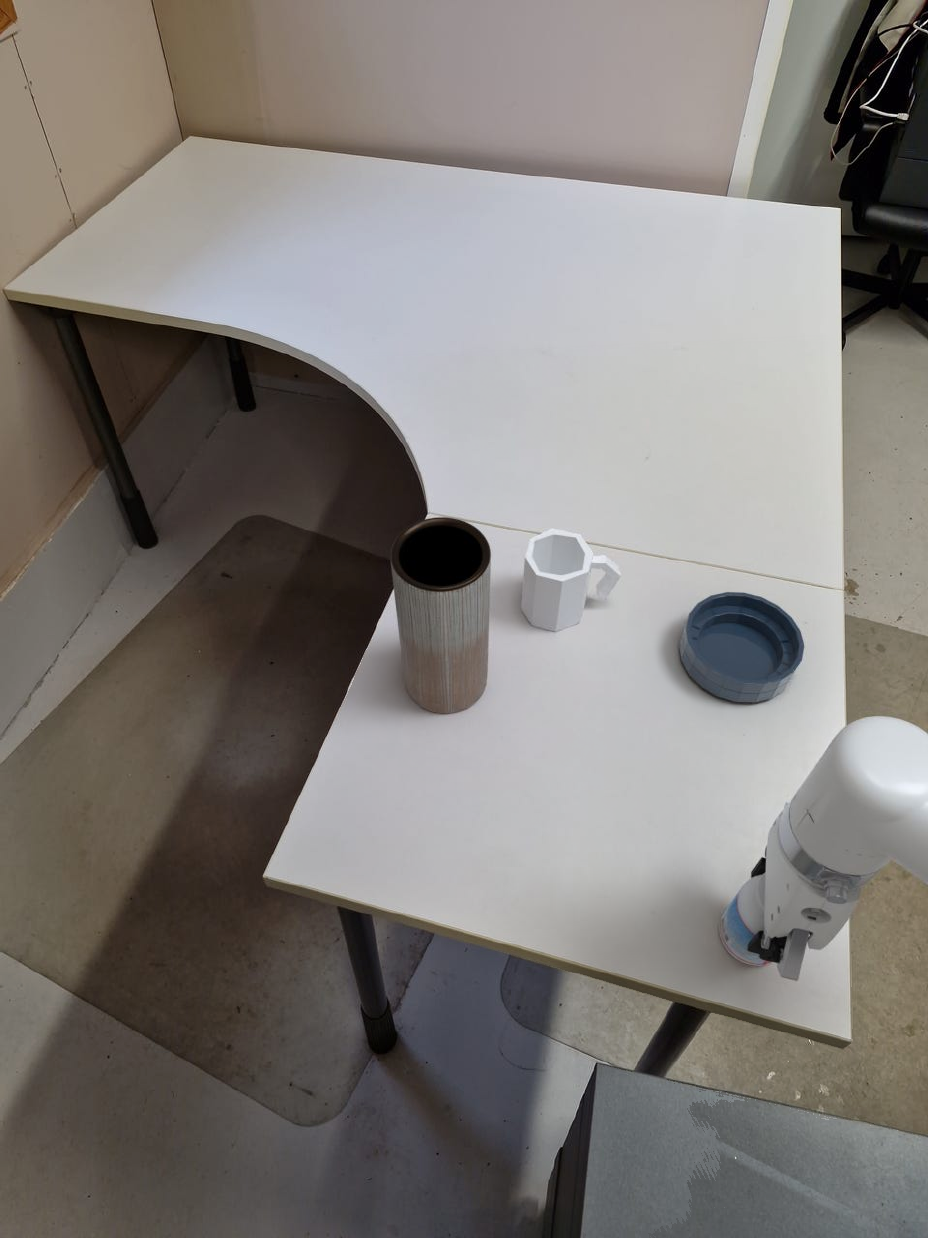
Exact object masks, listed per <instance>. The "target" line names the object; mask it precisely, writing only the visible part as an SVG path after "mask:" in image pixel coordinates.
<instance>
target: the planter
mask: <svg viewBox="0 0 928 1238" xmlns="http://www.w3.org/2000/svg"><path fill="white" fill-rule="evenodd" d="M389 557H390V567H391V578H392V585H393V595H394V602H395V611H396V619H397V620H396V621H397V628H398V638H399V646H400V655H401V663H402V664H401V665H402V673H403V680H404V685H405V689H406V691H407V693H408V695H409V697H410V699H412V701H413V702H414V703H415V704H417V705H418V706H419V707H421V708H423V709H425V710H427V711H428V712H429V711H430V712H432V713H437V714H453V713H458V712H461V711H464V710H466V709H468V708H470V707H472V706H473V705H474V704H476V703H477V702H478V700H479V699H481V697H482V696H483V694H484V692H485V690H486V687H487V683H488V674H489V672H488V670H489V644H490V643H489V641H490V639H489V637H490V610H491V609H490V606H491V605H490V603H491V602H490V601H491V571H492V569H491V568H492V550H491V546H490V543H489V541H488V539H487V538H486V536H485V535H484V533H483V532H482V531H480V530H479V529H478V528H477V527H476V526H474V525H473V524H471V523H469V522H467V521H464V520H462V519H458V518H453V517H447V516H446V517H445V516H443V517H442V516H438V517H430V518H425V519H421V520H418V521H417V522H414V523H412V524H410V525H409V526H407V527H405V528H404V529H403V530H402V531H401V532H400V533H399V534H398V535H397V537H396V538H395V540H394V541H393V543H392V546H391V548H390V555H389Z"/></svg>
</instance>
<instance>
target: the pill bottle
mask: <svg viewBox="0 0 928 1238" xmlns="http://www.w3.org/2000/svg"><path fill="white" fill-rule="evenodd" d="M765 874H766V872H765V873H764V874H763V875H758V876H755V877H753V878H751V877H750V878H749V879H747V881H746V882H745V883H744V884H743V885H742V886H741V887H740V889H739V890H738V891H737V893H736V895H735V896H734V897H733V899H732V900H731V902H730V903H729V904H728V906H727V907H726V908H725V910H724V911H723V913H722V915H721V917H720V920H719V924H718V925H719V926H718V932H719V937H720V940H721V942H722V945H723V946H724V948H725V950H726V951H727V952H728V953H729V954H730V955H731V956H732V957H733V958H735V959H736V960H738V961H739V962H741V963H744V964H746V965H750V966H753V967H754V966H755V967H761V966H762V967H763V966H767V965H770V964H771V963H772V962H769V961H765V960H762V959H760V958H759V954H756V953H752V952H749V951H748V950H747V947H748V943H749V942H750V941H751V940H752V939H753V937H754V936H755V935H756V934H757V933H758V932H759V931H764V930H765V926H764V904H765ZM787 936H788V935H787Z"/></svg>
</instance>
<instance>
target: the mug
mask: <svg viewBox="0 0 928 1238" xmlns="http://www.w3.org/2000/svg"><path fill="white" fill-rule="evenodd" d="M592 569H596V570H598V569H599V570H602V571H603V572H604V573H605V574H604V575H603V576H602V578H601V579H600V580H599V581H598V582H597V584H596V585H595V593H596V595H597V598H598V599H601V600H604V601H606V600H607V599H608V597H609V596H610V594H611V593H612V591H613V590H614V588H615V587H616V586H617V583H618V582H619V580H620V579H621V577H622V574H621V570H620V566H619V564H617V563H615V562H614V561H613V560H612V559H610V558H609V557H608V556H607V555H605V554H601V555H595V553H594V551H593V550H592V548H590V546H589V545H588V543H587V542H586V540H585V539H584V538H583V537H582V535H581V534H580V533H575V532H571V531H567V530H563V529H558V528H557V529H556V528H553V527H552V528H550V529H548V530H545V531H543V532H542V533H540V534H537V535H535V536H533V537H530V540H529V542H528V545H527V548H526V552H525V556H524V565H523V576H522V577H523V578H522V591H521V602H520V603H521V604H520V609H521V611H522V613H524V615H525V618H526V619H527V621H528V622H529V624H530V626H531V627H536V628H539V629H541V630H542V629H543V630H546V631H550V632H554V633H557V632H560V631H562V630H564V629H567V628H570V627H572V626H574V625H578V624H580V622H581V618H582V615H583V612H584V609H585V606H586V601H587V595H588V591H589V590H588V589H589V584H590V578H591V573H592Z"/></svg>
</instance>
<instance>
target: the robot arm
mask: <svg viewBox="0 0 928 1238" xmlns="http://www.w3.org/2000/svg"><path fill="white" fill-rule="evenodd" d="M766 840H767V841H766V845H765V849H764V857H763V856H761V857H760V859H759V860H758V861H757V863H756V864H755V866H754V867H753V868H752V870H751V871H750V879H751V878H753V877H755V876H758V875H763V874H764V873H765V872H766V874H765V904H764V926H765V930H764V931H759V932H758V933H757V934H756V935H755V936H754V937H753V939H752V940H751V941H750V942H749V943H748V947H747V950H748V951H749V952H752V953H756V954H759V958H760V959H762V960H765V961H769V962H771V963H775V964H777V966H776V968H777V971H778V973H779V977H781V978H783V979H788V980H791V981H795V982H797V981H798V980H799V977H800V973H801V969H802V965H803V961H804V957H805V953H806V949H807V947H808V949H810V950H815V951H821V950H823V949H824V948H826V947H827V946H829V944H830V943H831V942H832V941H833V940H834V938H835V937H837V935H838V934H839V933H840V932H841V930H842V929H843V927H845V925H846V924H847V923H848V921H849V919H850V917H851V916H852V914H853V912H854V910H855V908H856V907H857V904H858V902H859V899H860V897H861V892H862V887H864V886H865V885H867V884H868V883H869V882H870V881H871V880H872V879H873V878H874V877H875V876H876V875H877V874H879V872H881V870H883V869H884V867H886V866H887V865H888V864H889V863H890V862H891V861H892V862H894V863H895V864H897V865H898V866H900V867H901V868H902V869H904V870H906V871H907V872H908V873H910V874H911V875H912V876H913V877H915V878H916V879H918V880H919V881H921V882H922V883H923V884H924V885H926V886H927V887H928V732H926V731H925V730H923V729H922V728H921V727H919V726H917V725H915V724H913V723H911V722H909V721H906V720H903V719H901V718H896V717H892V716H886V715H875V716H874V715H873V716H866V717H862V718H859V719H856V720H854V721H852V722H850V723H848V724H847V725H845V726H844V727H843V728H841V730H839V732H838V733H837V734H836V735H835V737H833V739H832V741H831V742H830V744H829V745H828V746H827V748H826V749H825V751H824V752H823V753H822V755H821V756H820V758H819V760H818V761H817V762H816V764H815V765H814V767H813V768H812V770H810V773H809V774H808V775H807V776H806V778H805V779H804V781H803V783H802V784H801V785H800V787H799V788H798V789H797V791H796V793H795V794H794V795H793V797H792V798H791V799H790V801H789V802H785V804H784V806H783V809H782V811H781V812H780V813H779V815H778V816H777V817H776V819H775V820H774V822H773V823H772V825H771V827H770V829H769V831H768V835H767V839H766ZM787 935H788V936H787Z"/></svg>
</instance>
